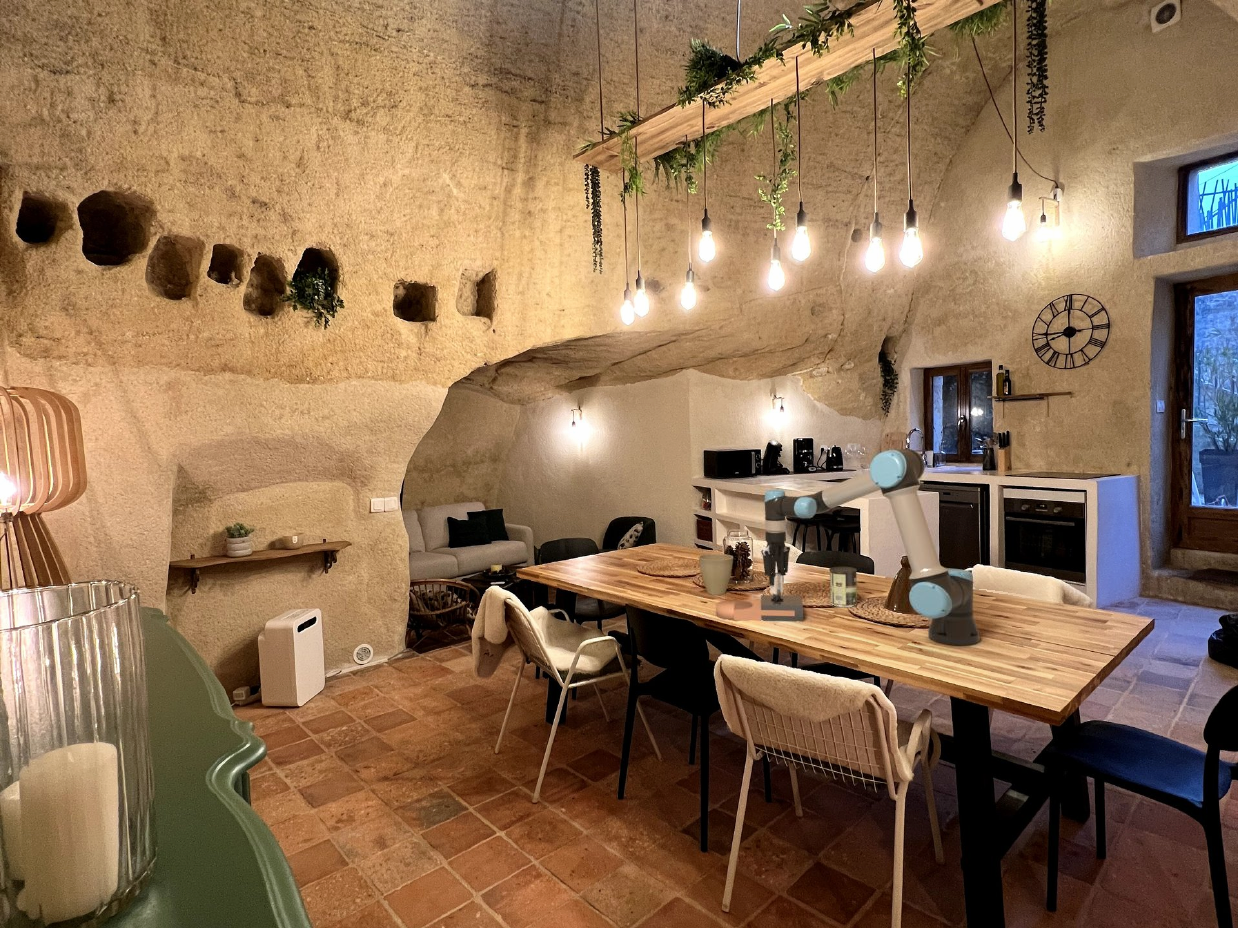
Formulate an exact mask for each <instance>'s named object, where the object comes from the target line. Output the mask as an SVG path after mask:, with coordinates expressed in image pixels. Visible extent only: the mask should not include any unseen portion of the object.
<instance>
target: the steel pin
mask: <svg viewBox="0 0 1238 928" xmlns="http://www.w3.org/2000/svg"><path fill="white" fill-rule="evenodd" d="M775 577H777V594H773V593H772V596H773V600H775V601H779V600H781V596H782V593H781V573H778V572H775Z"/></svg>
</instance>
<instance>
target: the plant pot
mask: <svg viewBox="0 0 1238 928" xmlns="http://www.w3.org/2000/svg"><path fill="white" fill-rule="evenodd" d="M733 563H734V556H733V555H730V554H725V553H708V554H707V553H706V554H701V555H699V556H698V564H699V568H700V573H701V577H702V581H703V584H704V587H705V589H706V592H707V594H708V595H712V596H722V595H725V594H726V591H727V589H728V584H729V582H730V579H731V573H732V569H733Z"/></svg>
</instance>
